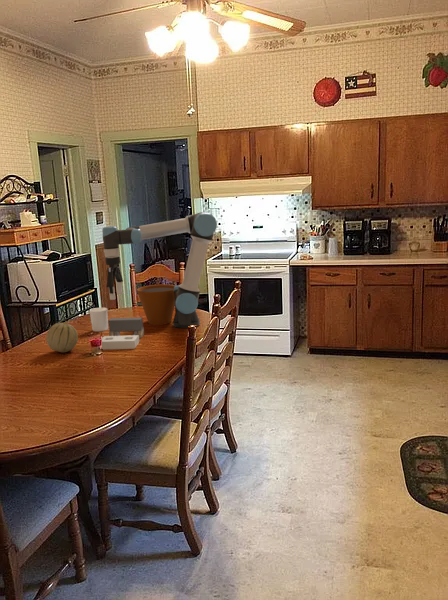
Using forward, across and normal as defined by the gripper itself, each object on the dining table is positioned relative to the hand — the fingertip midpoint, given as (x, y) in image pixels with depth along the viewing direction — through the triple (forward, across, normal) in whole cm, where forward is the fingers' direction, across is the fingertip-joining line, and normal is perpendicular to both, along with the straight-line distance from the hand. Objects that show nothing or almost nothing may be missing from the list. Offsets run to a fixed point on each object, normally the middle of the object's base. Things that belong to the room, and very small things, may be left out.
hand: (116, 296), depth 279 cm
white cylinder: (+22, -14, -15) cm, 30 cm away
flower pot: (+22, -30, +15) cm, 40 cm away
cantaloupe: (+22, +26, -21) cm, 40 cm away
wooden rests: (+22, +2, +4) cm, 22 cm away
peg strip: (+21, +2, +4) cm, 22 cm away
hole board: (+22, +18, +4) cm, 29 cm away
